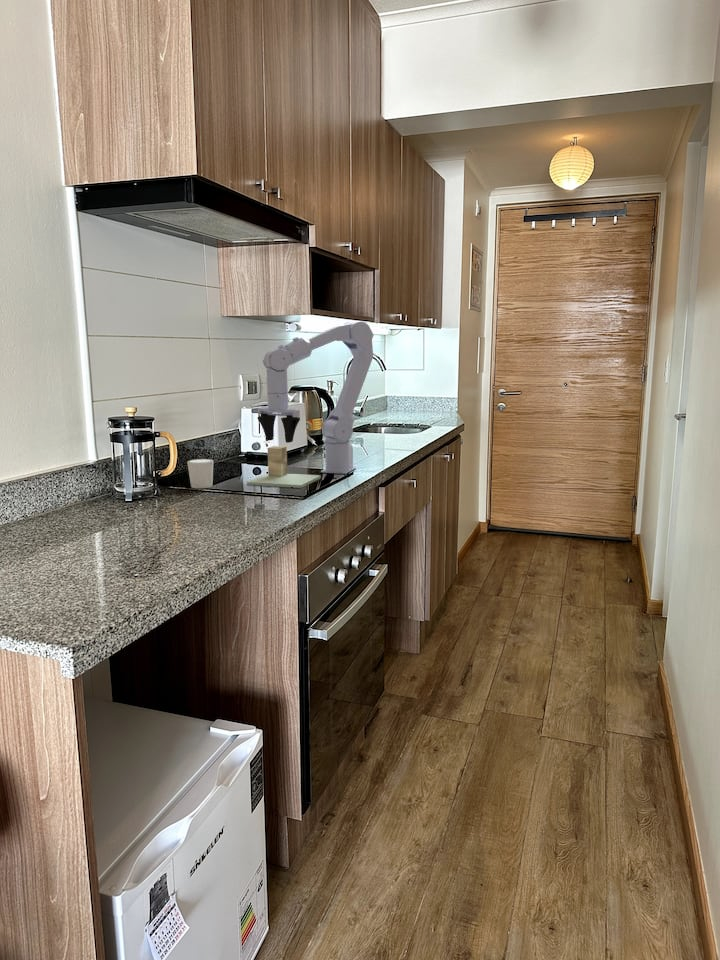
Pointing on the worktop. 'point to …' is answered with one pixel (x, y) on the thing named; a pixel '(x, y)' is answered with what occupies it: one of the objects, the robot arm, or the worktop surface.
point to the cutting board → (285, 480)
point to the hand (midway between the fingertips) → (279, 441)
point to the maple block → (277, 461)
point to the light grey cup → (201, 473)
